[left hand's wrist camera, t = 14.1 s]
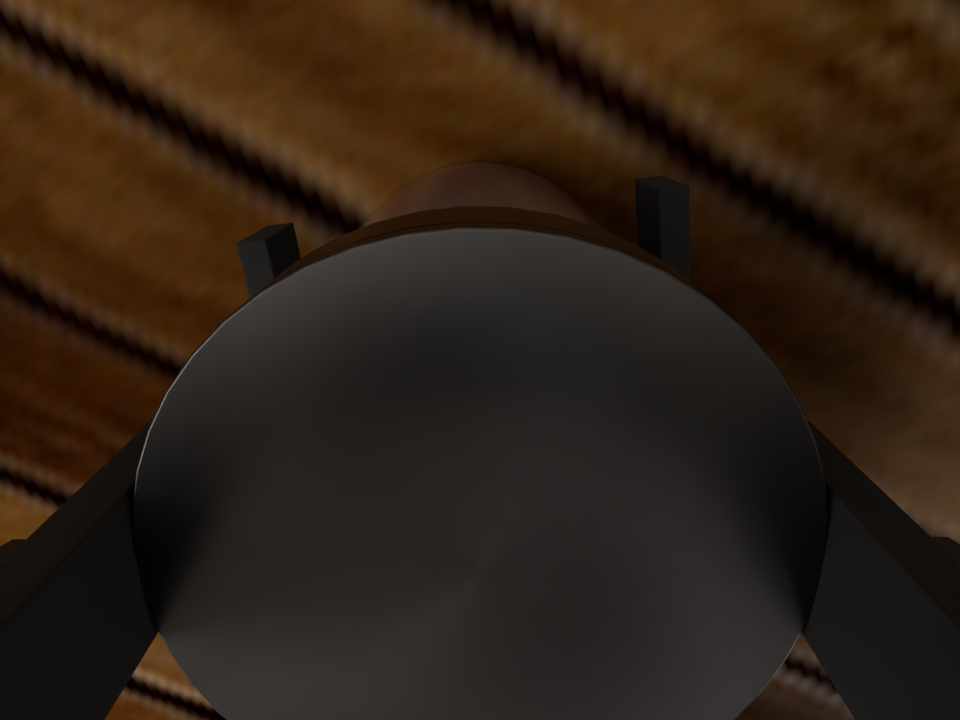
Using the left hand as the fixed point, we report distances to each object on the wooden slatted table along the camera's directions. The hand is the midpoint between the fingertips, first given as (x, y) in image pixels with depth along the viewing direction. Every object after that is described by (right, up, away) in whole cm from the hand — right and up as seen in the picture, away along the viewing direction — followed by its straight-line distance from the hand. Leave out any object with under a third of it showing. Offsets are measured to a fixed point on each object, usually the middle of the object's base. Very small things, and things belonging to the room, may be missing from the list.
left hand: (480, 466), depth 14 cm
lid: (0, -1, -3) cm, 3 cm away
